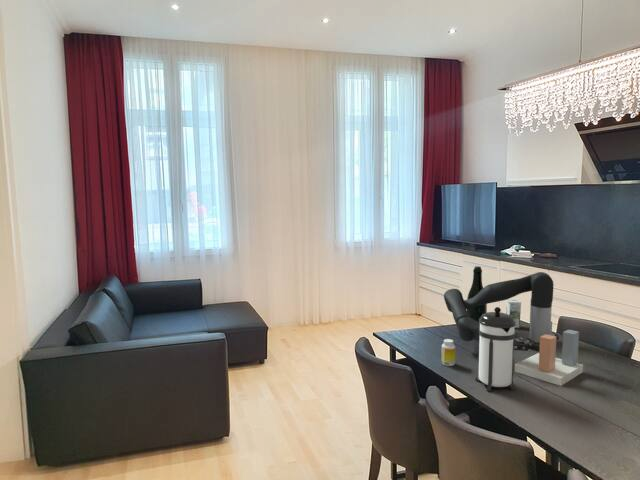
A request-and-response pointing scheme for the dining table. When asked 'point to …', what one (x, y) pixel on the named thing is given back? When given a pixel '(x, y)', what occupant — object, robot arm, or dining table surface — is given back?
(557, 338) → the toggle lever
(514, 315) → the syrup box
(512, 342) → the coffee press
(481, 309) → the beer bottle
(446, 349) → the supplement bottle
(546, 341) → the terracotta slider
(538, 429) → the dining table surface
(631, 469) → the dining table surface
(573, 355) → the slate slider
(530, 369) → the control board
